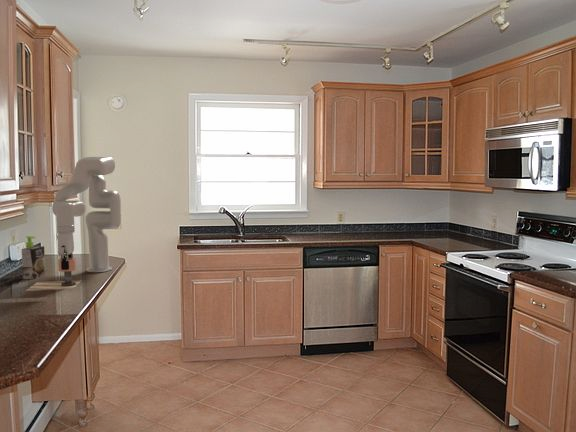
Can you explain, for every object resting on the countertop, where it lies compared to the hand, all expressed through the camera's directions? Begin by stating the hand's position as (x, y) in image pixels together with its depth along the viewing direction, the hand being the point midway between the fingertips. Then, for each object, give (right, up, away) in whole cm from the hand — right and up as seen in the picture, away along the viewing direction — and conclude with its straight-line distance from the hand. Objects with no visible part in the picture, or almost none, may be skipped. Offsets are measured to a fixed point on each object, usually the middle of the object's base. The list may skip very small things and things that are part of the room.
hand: (67, 267), depth 241 cm
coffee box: (-24, -8, +18) cm, 31 cm away
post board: (-6, -10, 0) cm, 11 cm away
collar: (0, -1, 0) cm, 1 cm away
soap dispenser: (-30, -7, +29) cm, 42 cm away
